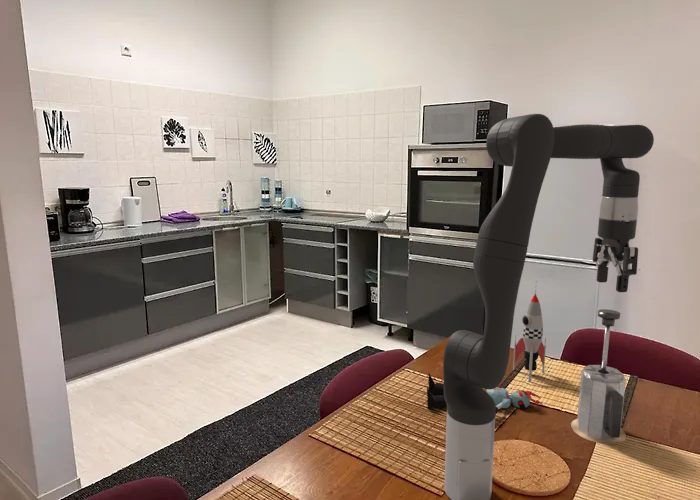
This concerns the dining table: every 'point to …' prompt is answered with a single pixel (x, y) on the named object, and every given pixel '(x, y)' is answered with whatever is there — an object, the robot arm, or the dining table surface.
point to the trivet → (618, 440)
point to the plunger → (607, 332)
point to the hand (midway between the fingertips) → (611, 286)
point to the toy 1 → (498, 394)
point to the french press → (601, 403)
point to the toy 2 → (531, 338)
